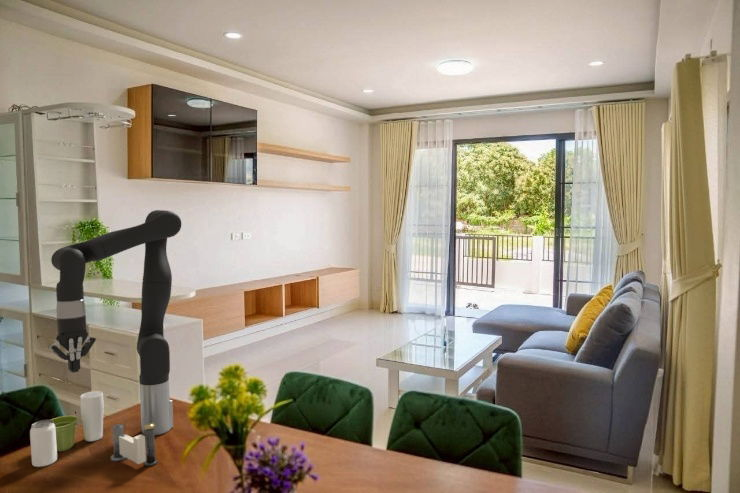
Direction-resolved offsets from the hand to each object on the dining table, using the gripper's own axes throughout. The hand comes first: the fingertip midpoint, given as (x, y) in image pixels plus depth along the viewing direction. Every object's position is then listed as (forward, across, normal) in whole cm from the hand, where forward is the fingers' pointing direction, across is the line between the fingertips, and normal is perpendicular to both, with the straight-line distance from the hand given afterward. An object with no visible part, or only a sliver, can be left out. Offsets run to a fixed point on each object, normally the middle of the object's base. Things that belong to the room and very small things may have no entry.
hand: (74, 371), depth 156 cm
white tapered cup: (+27, -9, -11) cm, 31 cm away
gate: (+25, -8, +17) cm, 31 cm away
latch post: (+27, -11, +21) cm, 36 cm away
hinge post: (+27, -8, +10) cm, 30 cm away
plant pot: (+27, 0, -12) cm, 30 cm away
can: (+27, +7, -6) cm, 29 cm away
